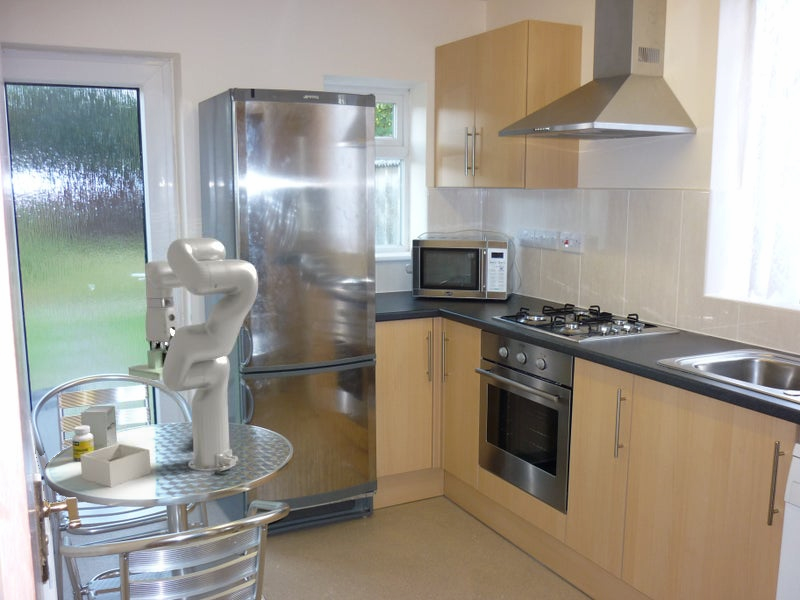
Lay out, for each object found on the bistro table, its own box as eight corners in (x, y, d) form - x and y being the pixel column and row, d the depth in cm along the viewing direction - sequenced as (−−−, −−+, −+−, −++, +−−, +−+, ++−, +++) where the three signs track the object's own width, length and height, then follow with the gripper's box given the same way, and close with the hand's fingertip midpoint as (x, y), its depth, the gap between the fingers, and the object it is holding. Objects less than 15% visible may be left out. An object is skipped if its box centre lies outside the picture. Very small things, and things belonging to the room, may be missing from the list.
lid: (197, 370, 228) (195, 346, 226) (159, 380, 216) (158, 355, 215) (166, 365, 235) (165, 342, 234) (129, 375, 224) (127, 351, 223)
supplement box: (108, 454, 217) (105, 411, 215) (82, 455, 217) (79, 412, 215) (118, 446, 224) (115, 405, 222) (93, 447, 224) (90, 405, 223)
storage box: (150, 475, 199) (149, 449, 198) (111, 490, 189) (109, 463, 188) (122, 467, 206) (120, 442, 205) (82, 481, 196) (80, 455, 195)
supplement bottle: (70, 464, 209) (67, 429, 208) (79, 457, 214) (76, 424, 213) (89, 464, 209) (87, 429, 208) (98, 457, 214) (95, 424, 213)
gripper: (189, 303, 222) (191, 365, 224) (152, 300, 231) (155, 359, 233) (168, 306, 215) (171, 370, 218) (131, 303, 225) (135, 363, 227)
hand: (163, 363), depth 225 cm, fingers closed on lid, 3 cm apart
